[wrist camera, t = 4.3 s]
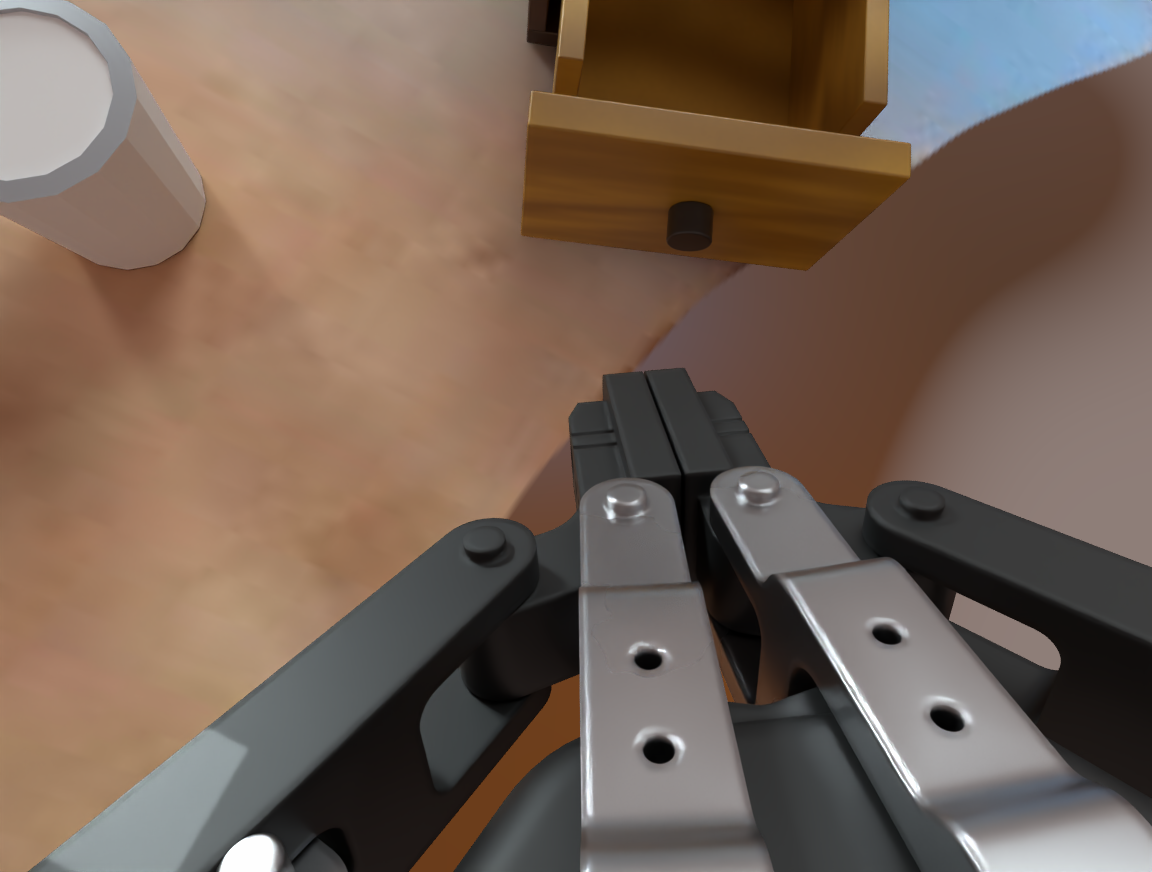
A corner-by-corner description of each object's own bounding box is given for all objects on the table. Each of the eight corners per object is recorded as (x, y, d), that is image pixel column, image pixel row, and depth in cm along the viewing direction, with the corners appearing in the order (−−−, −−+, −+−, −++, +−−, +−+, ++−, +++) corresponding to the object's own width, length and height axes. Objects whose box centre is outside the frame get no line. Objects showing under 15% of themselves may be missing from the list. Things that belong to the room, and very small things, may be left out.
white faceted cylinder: (136, 87, 29) (23, -53, 22) (259, 202, 29) (184, 96, 22) (-3, 200, 28) (-167, 88, 21) (125, 320, 28) (1, 247, 21)
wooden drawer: (806, 299, 30) (911, 214, 22) (517, 265, 29) (523, 163, 21) (817, -18, 32) (916, -194, 24) (550, -60, 31) (566, -258, 23)
